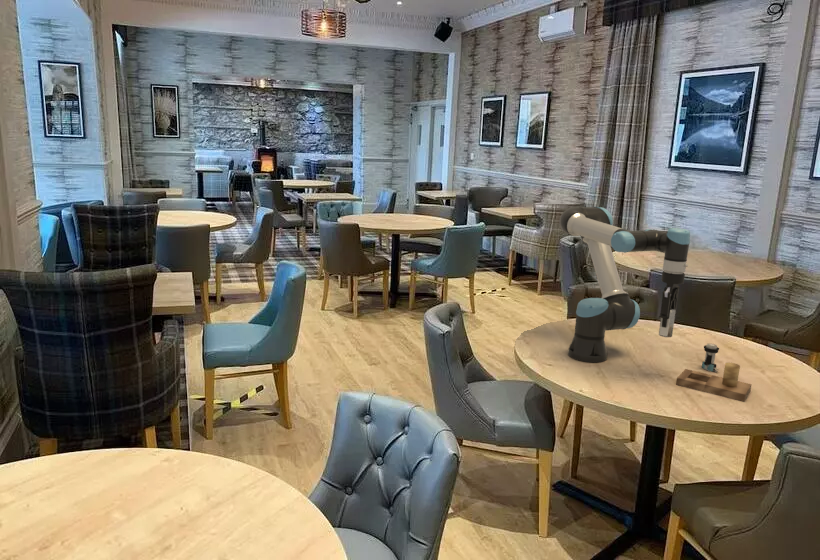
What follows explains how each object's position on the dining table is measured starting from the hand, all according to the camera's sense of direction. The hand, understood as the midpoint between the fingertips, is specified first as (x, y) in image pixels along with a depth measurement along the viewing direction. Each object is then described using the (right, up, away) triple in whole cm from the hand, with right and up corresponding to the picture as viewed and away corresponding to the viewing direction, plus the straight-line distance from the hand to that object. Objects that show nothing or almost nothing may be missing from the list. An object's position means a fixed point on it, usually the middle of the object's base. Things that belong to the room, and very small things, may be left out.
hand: (665, 333), depth 221 cm
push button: (+22, -15, +11) cm, 29 cm away
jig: (+14, -19, -6) cm, 24 cm away
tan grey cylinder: (0, -1, 0) cm, 1 cm away
